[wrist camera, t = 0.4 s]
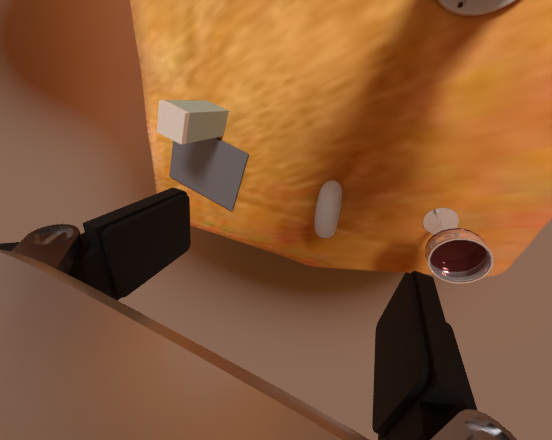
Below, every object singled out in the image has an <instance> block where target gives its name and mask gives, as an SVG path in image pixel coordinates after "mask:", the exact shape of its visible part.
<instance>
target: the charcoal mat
mask: <svg viewBox="0 0 552 440" xmlns="http://www.w3.org/2000/svg"><path fill="white" fill-rule="evenodd" d="M248 156H249V154H247V153H246V152H244V151H242V150H240V149H238V148H236V147H234V146H232V145H230V144H228V143H226V142H224V141H222V140H220V139H218V138H211V139H207V140H202V141H197V142H192V143H187V144H183V145H181V144H179V143H177V142H175V141H173V148H172V158H171V168H170V177H171V178H173V179H175V180H177V181H178V182H180V183H182V184H184V185H186V186H187V187H189V188H191V189H193V190H195V191H196V192H198V193H200V194H202V195H204V196H205V197H207V198H209V199H211V200H213V201H214V202H216V203H218V204H220V205H222V206H223V207H225V208H227V209H229V210H231V211H233V209H234V205H235V202H236V198H237V195H238V191H239V188H240V184H241V181H242V177H243V174H244V170H245V167H246V163H247V160H248Z"/></svg>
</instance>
